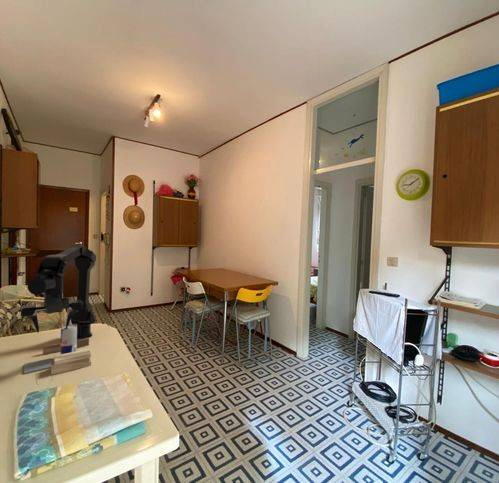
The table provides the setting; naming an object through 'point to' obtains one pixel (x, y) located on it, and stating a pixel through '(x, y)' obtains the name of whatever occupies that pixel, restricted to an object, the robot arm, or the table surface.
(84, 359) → the offcut stack
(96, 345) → the table surface
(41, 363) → the slate pad
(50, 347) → the walnut back board
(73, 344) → the energy drink
